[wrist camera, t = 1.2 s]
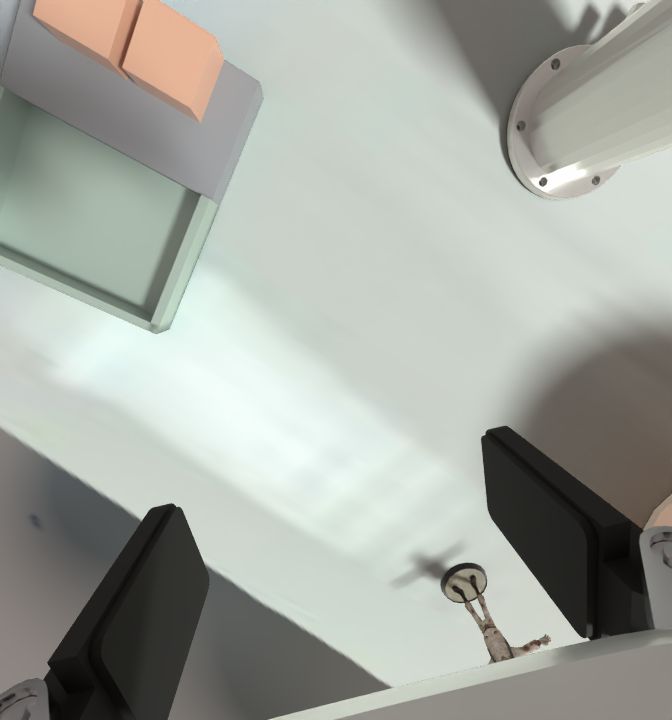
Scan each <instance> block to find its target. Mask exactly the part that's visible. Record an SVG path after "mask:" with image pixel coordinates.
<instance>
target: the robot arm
mask: <svg viewBox="0 0 672 720" xmlns="http://www.w3.org/2000/svg"><path fill="white" fill-rule="evenodd" d="M507 146H508V154H509V157H510V161H511V164H512V167H513V169H514V171H515V173H516V175H517V176H518V178H519V179H520V181H521V182H522V183H523V184H524V185H525V187H527V188H528V189H529V190H530V191H532V192H533V193H534V194H536V195H539V196H541V197H543V198H546V199H551V200H568V199H572V198H576V197H580V196H583V195H585V194H588V193H590V192H592V191H594V190H596V189H598V188H599V187H601V186H602V185H603V184H604V183H605V182H607V181H608V180H609V179H610V178H611V177H612V176H613V175H614V174H615V172H616V171H617V170H618V169H619V168H620V166H621V165H622V164H625V163H628V162H631V161H634V160H637V159H639V158H642V157H645V156H648V155H651V154H654V153H656V152H659V151H662V150H665V149H668V148H671V147H672V0H649V1H648V2H646V3H638V4H636V5H634V6H633V7H632V8H631V9H630V11H629V13H628V14H627V16H626V18H625V20H624V21H623V22H621V23H620V24H619V25H618V26H616V27H615V28H614V29H613V30H611V31H610V32H609V33H608V34H606V35H605V36H604V37H603V38H601V39H600V40H599V41H598V42H596V43H595V44H594V45H576V46H572V47H568V48H565V49H563V50H561V51H559V52H557V53H555V54H554V55H552V56H551V57H550V58H548V59H547V60H546V61H544V62H543V63H542V64H541V65H540V66H539V67H538V68H537V69H535V70H534V71H533V72H532V73H531V75H530V76H529V77H528V78H527V80H526V81H525V82H524V84H523V85H522V87H521V89H520V90H519V92H518V94H517V96H516V98H515V100H514V103H513V106H512V109H511V111H510V116H509V121H508V126H507ZM481 443H482V453H483V464H484V474H485V485H486V496H487V506H488V511H489V514H490V516H491V518H492V520H493V521H494V523H495V524H496V525H497V527H498V528H499V529H500V531H501V532H502V533H503V535H504V536H505V537H506V539H507V540H508V541H509V543H510V544H511V545H512V547H513V548H514V549H515V551H516V552H517V553H518V555H519V556H520V557H521V559H522V560H523V561H524V563H525V564H526V565H527V567H528V568H529V569H530V571H531V572H532V573H533V575H534V576H535V577H536V579H537V580H538V581H539V583H540V584H541V585H542V587H543V588H544V589H545V591H546V592H547V593H548V595H549V596H550V598H551V599H552V600H553V602H554V603H555V604H556V606H557V607H558V608H559V610H560V611H561V612H562V614H563V615H564V616H565V618H566V619H567V620H568V622H569V623H570V624H571V626H572V627H573V628H574V630H575V631H576V632H577V633H578V634H579V635H580V636H581V637H583V638H587V637H588V638H589V639H590V641H587V642H583V643H578V644H574V645H569V646H565V647H560V648H556V649H551V650H547V651H542V652H538V653H533V654H529V655H525V656H521V657H517V658H513V659H509V660H505V661H501V662H497V663H493V664H489V665H484V666H480V667H476V668H472V669H468V670H464V671H460V672H456V673H452V674H448V675H444V676H440V677H435V678H431V679H427V680H423V681H419V682H415V683H411V684H407V685H403V686H399V687H395V688H391V689H388V690H383V691H380V692H375V693H372V694H367V695H363V696H359V697H356V698H352V699H348V700H344V701H340V702H336V703H332V704H328V705H324V706H320V707H316V708H312V709H308V710H304V711H300V712H296V713H292V714H289V715H285V716H280V717H277V718H273V719H269V720H672V527H671V526H654V527H651V528H649V529H646V530H642V529H641V528H640V527H639V526H637V525H636V524H635V523H633V522H632V521H631V520H629V519H628V518H627V517H625V516H624V515H623V514H622V513H620V512H619V511H618V510H616V509H615V508H614V507H612V506H611V505H610V504H609V503H607V502H606V501H605V500H603V499H602V498H601V497H599V496H598V495H597V494H595V493H594V492H593V491H592V490H590V489H589V488H588V487H586V486H585V485H584V484H582V483H581V482H580V481H579V480H577V479H576V478H575V477H573V476H572V475H571V474H569V473H568V472H567V471H565V470H564V469H563V468H562V467H560V466H559V465H558V464H556V463H555V462H554V461H552V460H551V459H550V458H548V457H547V456H546V455H545V454H543V453H542V452H541V451H539V450H538V449H537V448H535V447H534V446H533V445H531V444H530V443H529V442H528V441H526V440H525V439H524V438H522V437H521V436H520V435H518V434H517V433H516V432H515V431H513V430H512V429H511V428H509V427H508V426H502V427H497V428H493V429H489V430H487V431H486V435H484V436H482V438H481ZM208 589H209V575H208V572H207V569H206V567H205V564H204V562H203V560H202V557H201V555H200V552H199V550H198V547H197V545H196V542H195V540H194V537H193V535H192V532H191V530H190V528H189V525H188V523H187V520H186V518H185V515H184V513H183V510H182V509H181V508H180V507H176V506H175V505H174V504H172V503H171V504H166V505H162V506H158V507H153V508H151V509H150V510H149V511H148V513H147V514H146V516H145V517H144V519H143V520H142V522H141V523H140V525H139V526H138V528H137V529H136V531H135V532H134V534H133V536H132V537H131V538H130V540H129V541H128V543H127V544H126V546H125V547H124V549H123V550H122V552H121V553H120V555H119V556H118V558H117V559H116V561H115V563H114V564H113V565H112V567H111V568H110V570H109V571H108V573H107V574H106V576H105V577H104V579H103V580H102V582H101V583H100V585H99V586H98V588H97V589H96V591H95V592H94V594H93V595H92V597H91V598H90V600H89V601H88V603H87V604H86V606H85V607H84V609H83V610H82V612H81V613H80V615H79V616H78V617H77V619H76V621H75V622H74V624H73V625H72V627H71V628H70V630H69V631H68V632H67V634H66V635H65V637H64V639H63V640H62V642H61V643H60V644H59V646H58V648H57V649H56V650H55V652H54V653H53V655H52V657H51V658H50V659H49V661H48V662H47V663H48V665H49V666H50V668H51V669H50V670H49V672H48V673H47V675H46V676H45V678H44V680H42V679H39V678H35V679H28V680H25V681H23V682H21V683H18V684H16V685H14V686H12V687H11V688H9V689H8V690H6V691H5V692H3V693H2V694H0V720H167V719H168V716H169V713H170V709H171V707H172V703H173V700H174V697H175V694H176V691H177V687H178V684H179V681H180V678H181V675H182V672H183V668H184V665H185V662H186V659H187V656H188V652H189V649H190V646H191V643H192V640H193V637H194V633H195V630H196V627H197V624H198V621H199V618H200V614H201V611H202V608H203V605H204V601H205V599H206V595H207V592H208Z"/></svg>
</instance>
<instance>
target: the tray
mask: <svg viewBox="0 0 672 720" xmlns="http://www.w3.org/2000/svg"><path fill="white" fill-rule="evenodd" d="M218 209H219V206H218V205H217V204H216V203H214V202H213V201H212V200H211V199H209V198H207V197H205V196H203V195H202V194H201V196H200V195H198V194H196V193H194V192H192V191H190V190H189V189H187V188H185V187H183V186H181V185H179V184H177V183H176V182H174V181H172V180H170V179H168V178H166V177H165V176H163V175H161V174H159V173H157V172H155V171H153V170H152V169H150V168H148V167H146V166H144V165H142V164H140V163H139V162H137V161H135V160H133V159H131V158H129V157H127V156H126V155H124V154H122V153H120V152H118V151H116V150H115V149H113V148H111V147H109V146H107V145H105V144H103V143H102V142H100V141H98V140H96V139H94V138H92V137H90V136H89V135H87V134H85V133H83V132H81V131H79V130H77V129H76V128H74V127H72V126H70V125H68V124H66V123H65V122H63V121H61V120H59V119H57V118H55V117H53V116H52V115H50V114H48V113H46V112H44V111H42V110H40V109H39V108H37V107H35V106H33V105H31V104H30V103H28V102H26V101H25V100H23V99H22V98H20V97H18V96H17V95H15V94H14V93H12V92H10V91H9V90H7V89H6V88H4V87H2V86H0V265H1V266H3V267H5V268H7V269H10V270H12V271H14V272H16V273H19V274H21V275H23V276H25V277H28V278H30V279H32V280H34V281H37V282H39V283H41V284H44V285H46V286H48V287H50V288H53V289H55V290H57V291H59V292H62V293H64V294H66V295H68V296H71V297H73V298H75V299H77V300H80V301H82V302H84V303H86V304H89V305H91V306H93V307H96V308H98V309H100V310H102V311H105V312H107V313H109V314H111V315H114V316H116V317H118V318H120V319H123V320H125V321H127V322H129V323H132V324H134V325H136V326H139V327H141V328H143V329H145V330H148V331H150V332H152V333H154V334H158V333H161V332H163V331H166V330H168V329H170V326H171V324H172V321H173V319H174V316H175V314H176V311H177V309H178V307H179V304H180V302H181V299H182V297H183V294H184V292H185V289H186V287H187V285H188V282H189V280H190V277H191V275H192V272H193V270H194V267H195V265H196V262H197V260H198V258H199V255H200V253H201V250H202V248H203V245H204V243H205V240H206V238H207V236H208V233H209V231H210V228H211V226H212V223H213V221H214V218H215V216H216V213H217V211H218Z"/></svg>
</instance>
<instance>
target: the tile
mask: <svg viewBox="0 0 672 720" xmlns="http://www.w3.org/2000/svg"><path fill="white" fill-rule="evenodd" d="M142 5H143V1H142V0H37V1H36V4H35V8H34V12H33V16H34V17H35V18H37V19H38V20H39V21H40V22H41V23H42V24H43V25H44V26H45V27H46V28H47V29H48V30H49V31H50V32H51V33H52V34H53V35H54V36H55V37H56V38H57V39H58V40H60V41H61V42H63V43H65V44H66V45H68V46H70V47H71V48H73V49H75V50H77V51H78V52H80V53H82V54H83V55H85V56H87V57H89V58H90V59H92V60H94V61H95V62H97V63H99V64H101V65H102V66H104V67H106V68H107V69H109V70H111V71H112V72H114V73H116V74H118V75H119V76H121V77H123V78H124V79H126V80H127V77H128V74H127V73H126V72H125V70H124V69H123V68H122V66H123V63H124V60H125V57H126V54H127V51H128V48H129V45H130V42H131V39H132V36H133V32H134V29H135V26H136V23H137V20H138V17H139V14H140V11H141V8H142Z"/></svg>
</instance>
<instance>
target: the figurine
mask: <svg viewBox="0 0 672 720" xmlns="http://www.w3.org/2000/svg"><path fill="white" fill-rule="evenodd" d="M486 586H487V575H486V573H485V570H484V569H483V568H482V567H481V566H479V565H477V564H474V563H464V564H459V565H457V566H455V567H453V568H451V569H450V570H449V571H448V572H447V573H446V574H445V576H444V577H443V579H442V583H441V588H442V592H443V593H444V595H445V596H446V597H447V598H448V599H450V600H451V601H453V602H457V603H465V607H466V609H467V610H468V611H469V612H470V613H471V614H472V616H473V617H474V619H475V621H476V622H477V624H478V626H479V628H480V629H481V631H482V633H483V635H484V640H485V643H486V646H487V648H488V651H489V654H490V656H491V660H490V662H489V664H493V663H497V662H501V661H505V660H509V659H513V658H517V657H521V656H525V655H527V654H529V653H531V652H533V651H535V650H537V649H539V648H540V645H541V644H543V645H548V642H550V641H551V640H549V639H550V637H549V636H547V637H546V634H545V636H544V637H542V638H540V640H537V641H536V640H533V641H531V642H530V643H528V644H526V645H524V646H523V647H518V648H514V647H510V646H509V644H508V642H507V641H506V639H505V638H504V637H503V635H502V634H501V633H500V631H499V630H498V629H497V628H496V626H495V625H494V622H493V620H492V618H491V616H490V614H489V612H488V610H487V607H486V604H485V599H484V596H483V595H481V594H482V593H483V592H484V590H485V588H486ZM476 598H478V601H479V603H480V605H481V607H482V610H483V613H484V616H485V620H484V621H482V620H481V619H480V617H479V616H478V615H477V613H476V612H475V610H474V608H473V607H472V605H471V603H470V601H473V600H475V599H476ZM548 637H549V638H548ZM489 664H488V665H489Z"/></svg>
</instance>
